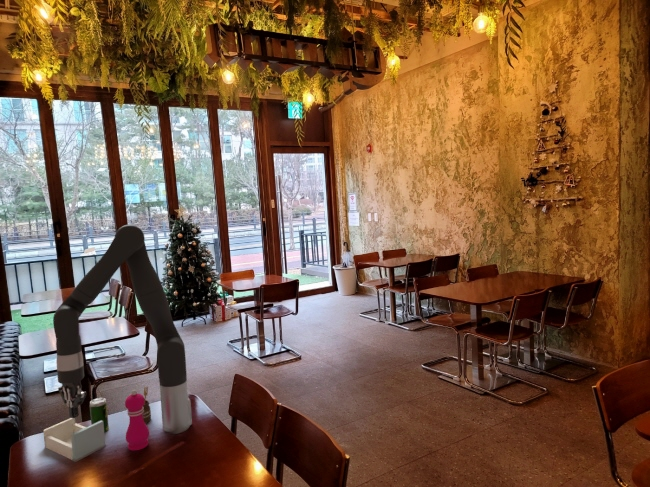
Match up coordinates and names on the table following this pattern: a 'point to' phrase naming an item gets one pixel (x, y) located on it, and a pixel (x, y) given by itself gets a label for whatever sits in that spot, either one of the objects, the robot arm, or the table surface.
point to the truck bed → (61, 437)
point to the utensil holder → (146, 408)
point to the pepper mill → (136, 422)
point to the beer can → (99, 412)
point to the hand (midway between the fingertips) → (74, 416)
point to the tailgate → (88, 440)
